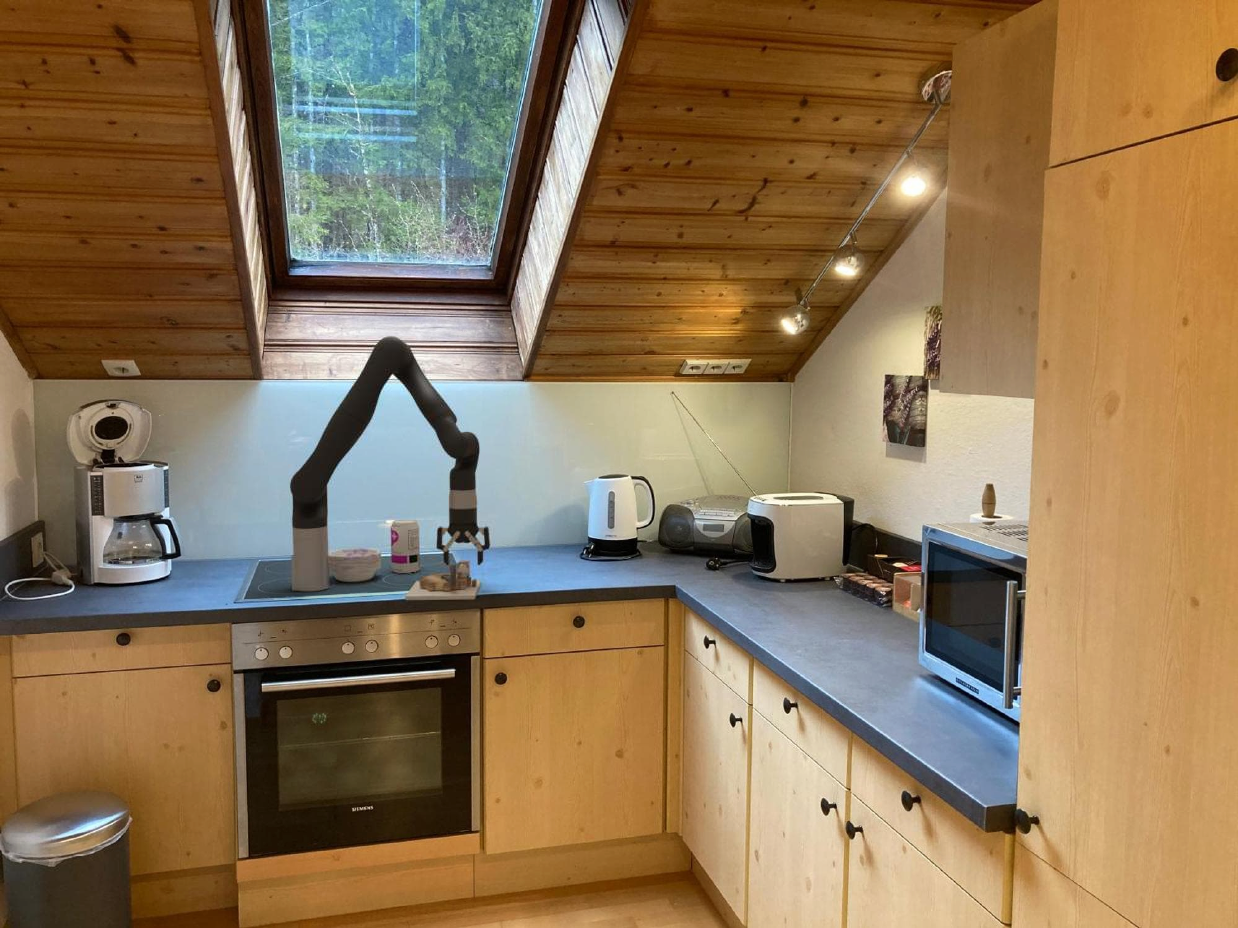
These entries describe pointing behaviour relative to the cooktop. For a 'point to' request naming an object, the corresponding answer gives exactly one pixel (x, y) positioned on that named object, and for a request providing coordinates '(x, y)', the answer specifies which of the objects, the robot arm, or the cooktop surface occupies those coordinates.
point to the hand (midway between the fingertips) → (463, 564)
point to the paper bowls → (354, 564)
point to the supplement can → (405, 546)
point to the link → (463, 570)
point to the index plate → (443, 592)
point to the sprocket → (444, 581)
